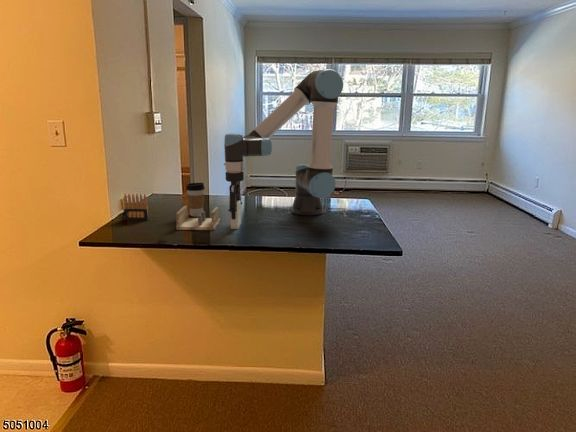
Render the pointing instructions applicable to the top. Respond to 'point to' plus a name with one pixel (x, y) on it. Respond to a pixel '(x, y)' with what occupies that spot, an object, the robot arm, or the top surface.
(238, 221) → the beige rectangular block
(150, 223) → the top surface
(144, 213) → the ammunition clip
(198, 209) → the coffee cup
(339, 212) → the top surface
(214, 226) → the wooden shelf with pegs
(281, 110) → the robot arm
